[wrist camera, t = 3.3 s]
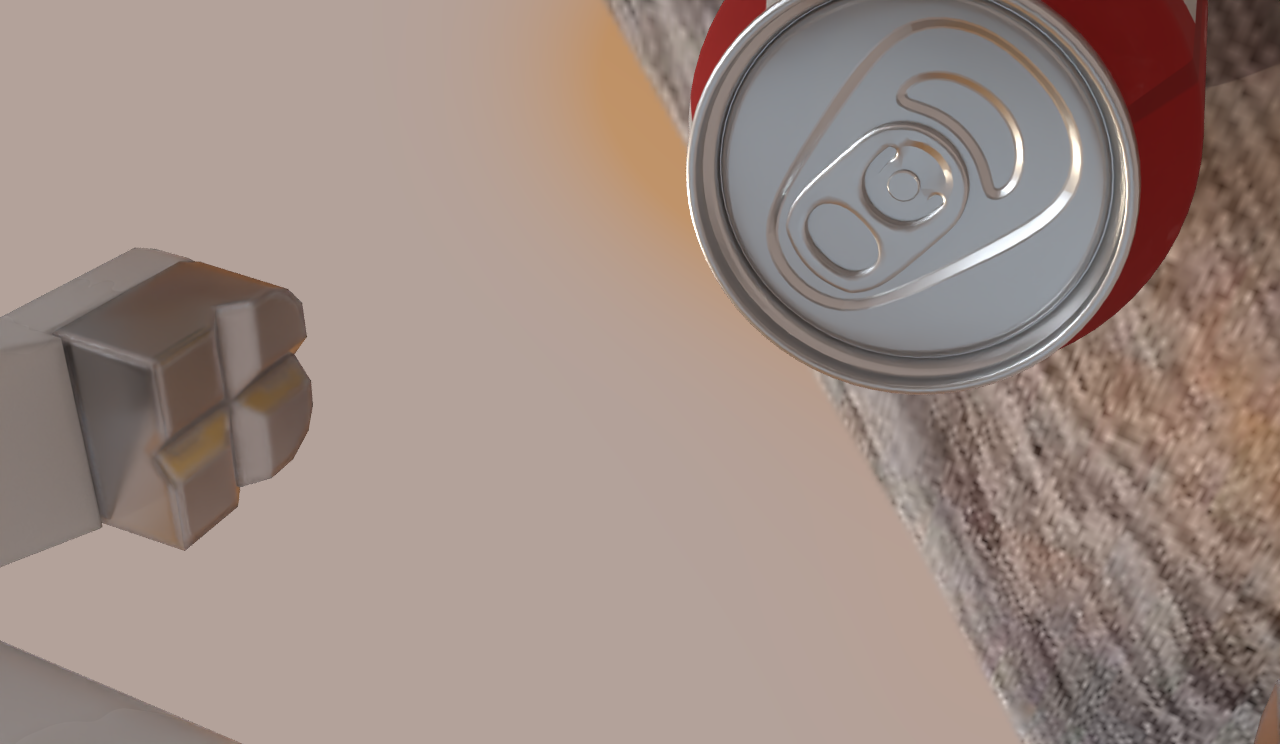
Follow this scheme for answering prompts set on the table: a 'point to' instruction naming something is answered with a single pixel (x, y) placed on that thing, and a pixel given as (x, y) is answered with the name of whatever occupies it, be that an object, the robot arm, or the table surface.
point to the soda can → (942, 175)
